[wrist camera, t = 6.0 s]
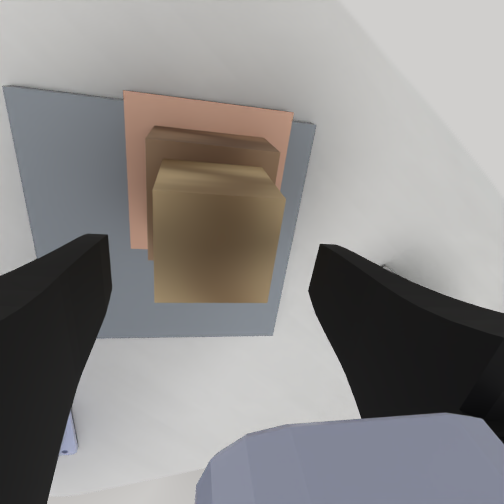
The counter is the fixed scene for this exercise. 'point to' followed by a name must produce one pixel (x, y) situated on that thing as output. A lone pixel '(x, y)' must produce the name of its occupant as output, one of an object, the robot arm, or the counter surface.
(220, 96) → the counter surface
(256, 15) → the counter surface
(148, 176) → the walnut base block
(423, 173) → the counter surface
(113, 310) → the grey square plate
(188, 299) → the oak block
